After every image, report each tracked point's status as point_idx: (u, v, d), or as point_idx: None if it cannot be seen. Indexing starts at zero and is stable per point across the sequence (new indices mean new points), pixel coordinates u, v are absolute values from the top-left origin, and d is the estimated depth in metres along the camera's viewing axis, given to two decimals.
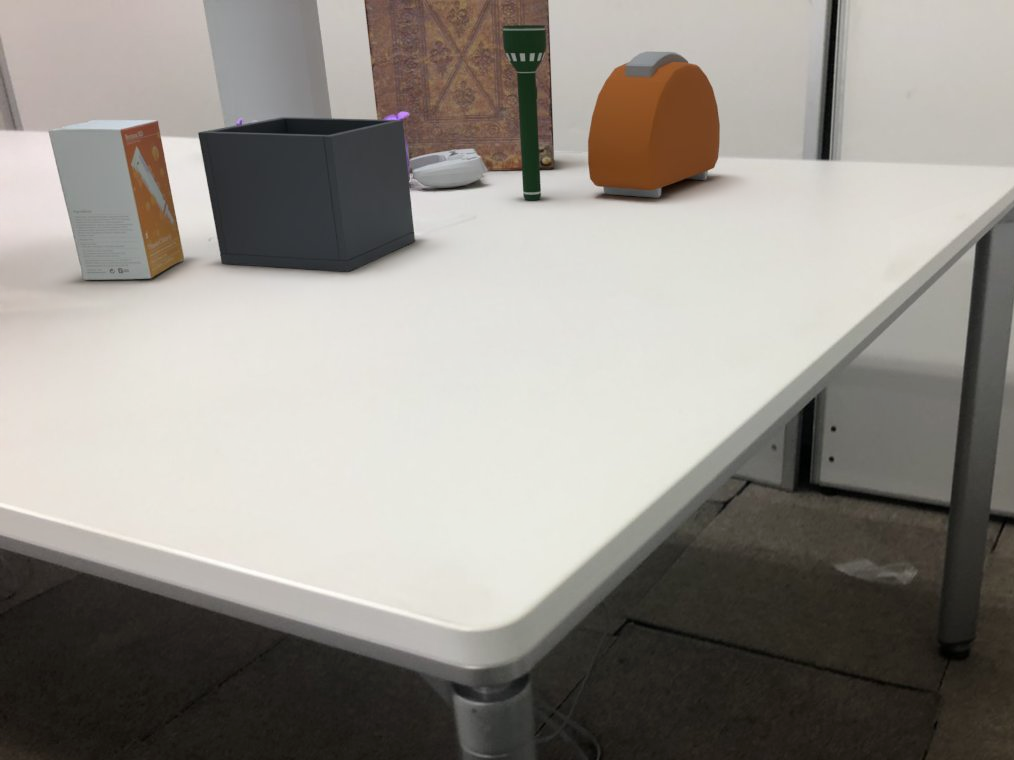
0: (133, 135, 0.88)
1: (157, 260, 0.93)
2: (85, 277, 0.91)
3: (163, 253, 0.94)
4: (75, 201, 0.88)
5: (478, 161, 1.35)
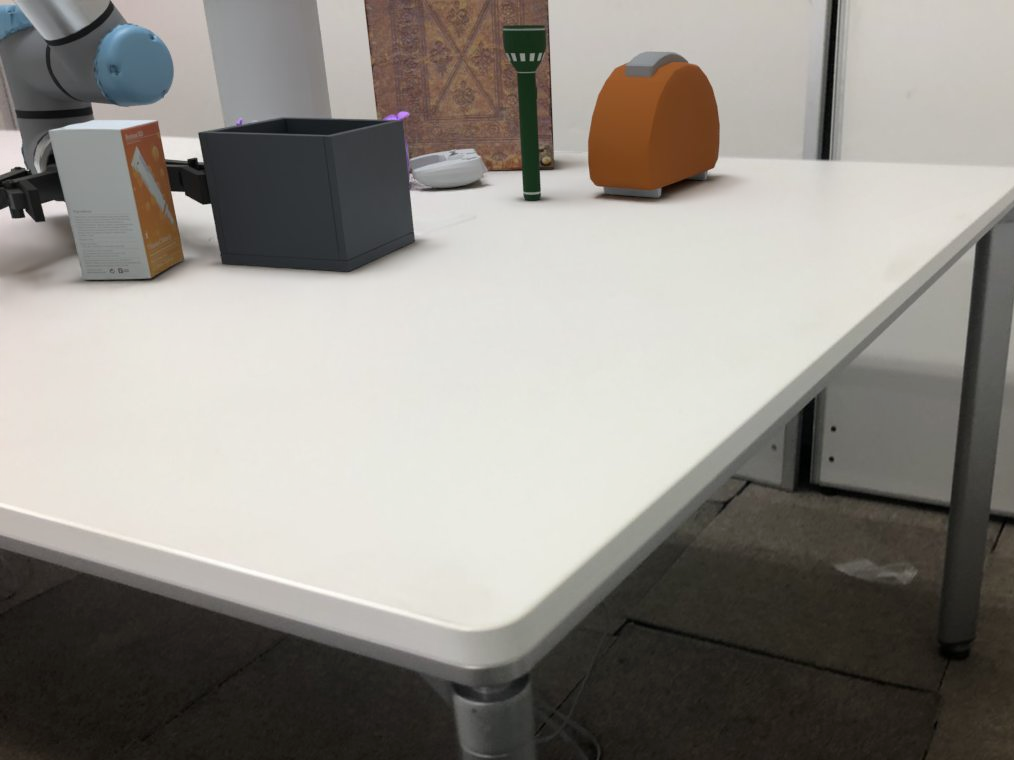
0: (133, 134, 0.88)
1: (157, 260, 0.93)
2: (85, 277, 0.91)
3: (163, 253, 0.94)
4: (75, 201, 0.88)
5: (478, 161, 1.35)
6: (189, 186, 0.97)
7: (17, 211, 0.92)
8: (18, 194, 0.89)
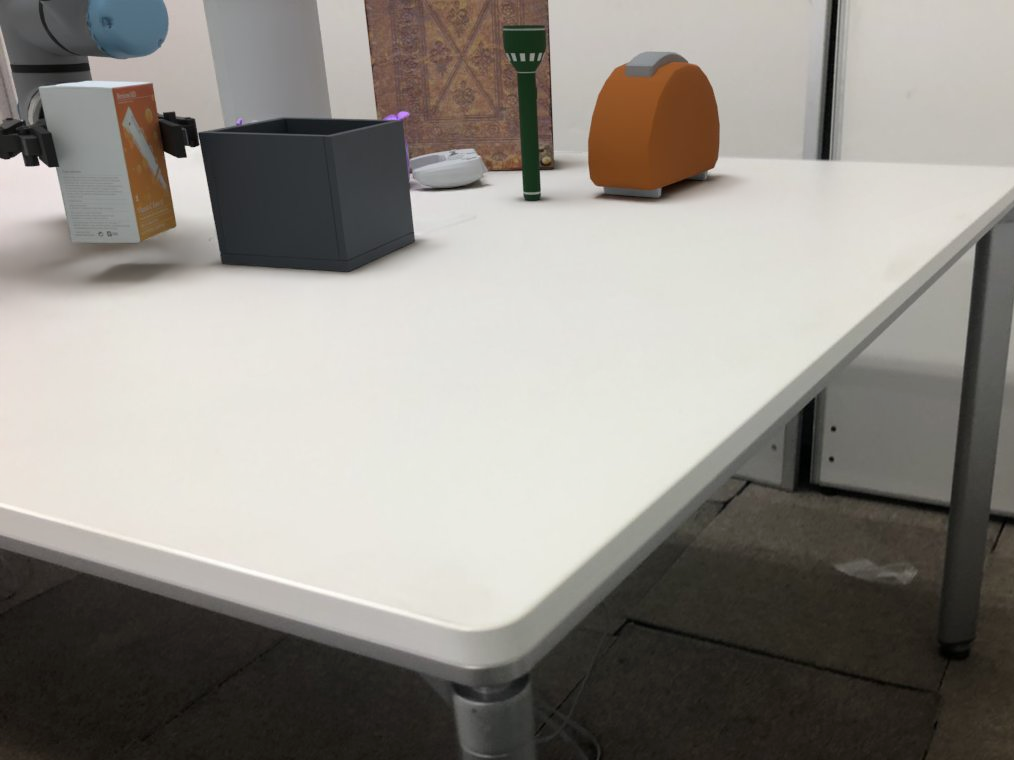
0: (126, 94, 0.86)
1: (147, 224, 0.91)
2: (73, 240, 0.89)
3: (154, 218, 0.92)
4: (64, 161, 0.86)
5: (478, 161, 1.35)
6: (165, 140, 0.92)
7: (32, 159, 0.89)
8: (31, 139, 0.86)
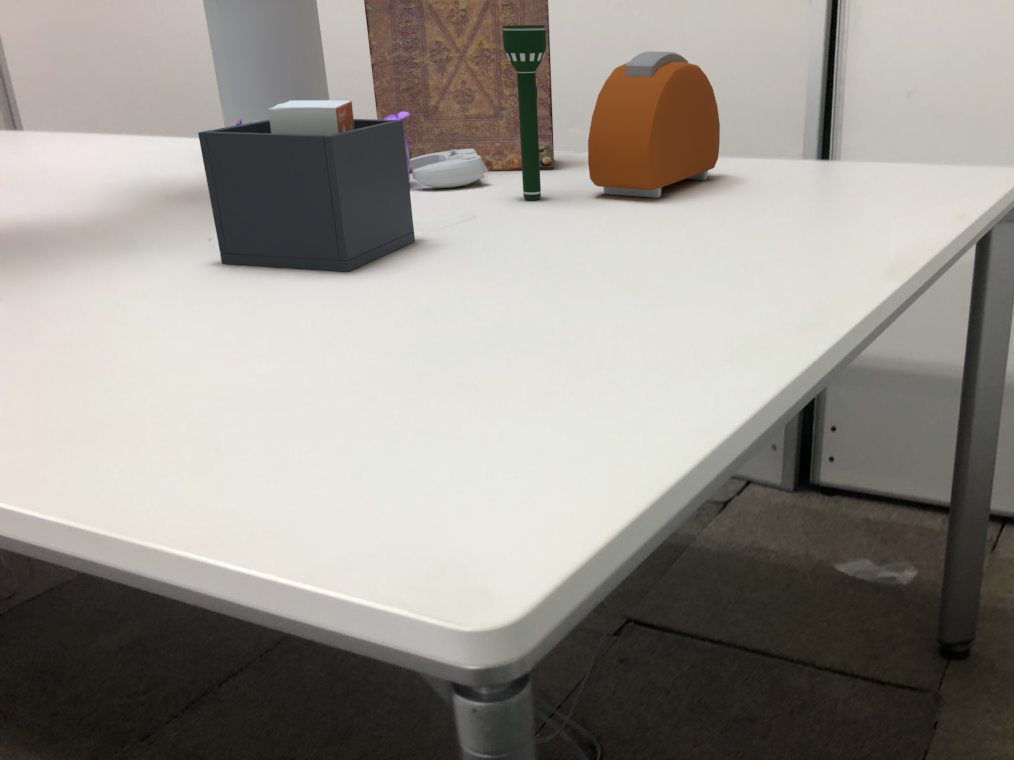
0: (342, 113, 0.94)
1: None
2: None
3: None
4: None
5: (478, 161, 1.35)
6: None
7: None
8: None
